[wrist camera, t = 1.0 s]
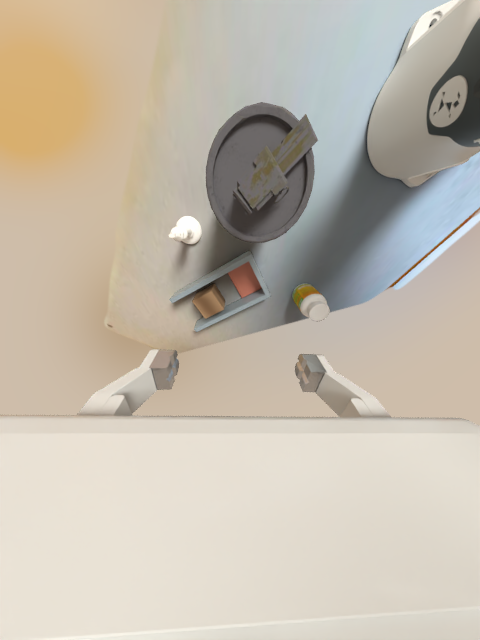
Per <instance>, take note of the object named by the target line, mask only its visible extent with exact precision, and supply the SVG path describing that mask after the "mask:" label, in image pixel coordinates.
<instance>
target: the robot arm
mask: <svg viewBox="0 0 480 640" xmlns="http://www.w3.org/2000/svg"><path fill="white" fill-rule="evenodd" d="M430 24H431V27H430V28H429V25H430ZM367 147H368V154H369V157H370V160H371V163H372V165H373V166H374V168H375V169H376V170H377V171H378V172H379V173H380V174H382V175H384V176H386V177H390V178H397V179H401V180H402V181H403V182H404V183H405V184H406V185H407V186H409V187H416V186H419V185H421V184H422V183H424V182H425V181H426V180H428V179H429V178H431V177H432V176H433V175H435V174H436V173H438V172H439V171H440V170H443V169H447V168H450V167H454V166H457V165H460V164H463V163H465V162H467V161H468V160H469V158H470V157H472V156H473V155H475V154H476V153H478V152H479V151H480V0H452V1H450V2H448V3H446V4H443V5H441V6H439V7H437V8H435V9H433V10H430V11H428V12H426V13H425V14H423V15H422V16H421V17H420V18H419V19H418V20H417V21H416V22H415V23H414V24H413V25H412V27H411V29H410V31H409V33H408V35H407V37H406V40H405V43H404V45H403V48H402V51H401V54H400V57H399V60H398V62H397V64H396V66H395V67H394V69H393V71H392V72H391V74H390V76H389V77H388V79H387V81H386V82H385V84H384V86H383V87H382V89H381V91H380V93H379V95H378V98H377V100H376V102H375V105H374V108H373V111H372V114H371V118H370V122H369V127H368V135H367ZM298 360H299V362H297V363H296V366H295V372H296V376H297V378H298V379H300V386H301V388H302V391H303V392H316V394H317V395H318V396H319V397H320V398H321V399H322V400H324V402H326V404H327V405H329V407H330V408H331V409H332V410H333V411H334V412H335V413H337V415H339V417H234V416H232V417H231V416H226V417H225V416H132V413H133V412H134V411H135V410H137V409H138V408H139V407H140V406H141V405H142V404H143V403H144V402H145V401H146V400H147V399H148V398H149V397H150V396H151V395H153V394H154V393H155V391H157V390H161V389H162V390H163V389H172V386H173V383H174V376H176V375H177V372H178V368H179V361H178V359H177V351H176V350H161V349H160V350H158V349H152V350H150V352H149V353H148V355H147V356H146V358H145V359H144V361H143V362H142V364H141V365H140V367H139V368H135V369H134V370H132V371H131V372H129V373H127V374H126V375H124V376H122V377H121V378H119V379H118V380H116V381H114V382H112V383H111V384H109V385H107V386H106V387H104V388H102V389H101V390H99V391H98V392H96V393H94V394H93V395H92V397H91V398H90V399H89V400H88V402H87V403H86V404H85V405H84V407H83V408H82V409H81V410H80V411H79V413H78V414H77V415H0V640H480V426H479V425H477V424H475V423H473V422H471V421H469V420H466V419H461V418H392V417H391V416H390V415H389V414H388V412H387V411H386V410H385V409H384V408H383V406H382V405H381V404H380V402H379V401H378V400H377V399H376V398H375V397H373V396H372V395H370V394H369V393H367V392H366V391H364V390H363V389H361V388H360V387H358V386H357V385H355V384H354V383H352V382H351V381H349V380H348V379H346V378H345V377H343V376H341V375H340V374H338V373H335V372H334V370H333V369H332V367H331V366H330V364H329V363H328V361H327V360H326V358H325V357H324V356H323V355H311V354H310V355H309V354H300V355H299V357H298Z"/></svg>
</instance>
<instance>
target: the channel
mask: <svg viewBox="0 0 480 640" xmlns="http://www.w3.org/2000/svg"><path fill="white" fill-rule="evenodd" d="M226 273H228V275H229V276H230V278H231V280H232V282H233V283H234V285H235V287H236V288H237V290H238V292H239V294H240V295H241V297H242V299H240V300H238V301H236V302H234V303H232V304H230V305H228V306H225V307H224V310H222V311H220V312H218V313H216V314H214V315H212V316H210V317H208V318H206V319H205V318H204V317H203V318H201V319H199V320H197V323H196V325H195V328H194V330H195V331H196V332H198V331H200V330H202V329H204V328H206V327H208V326H210V325H212V324H214V323H216V322H219V321H221V320H223V319H225V318H227V317H229V316H231V315H233V314H235V313H237V312H239V311H242V310H244V309H246V308H248V307H250V306H252V305H254V304H256V303H258V302H260V301H263V300H265V299H267V298H269V297H271V295H270V292H269V290H268V288H267V286H266V283H265V281H264V279H263V277H262V275H261V273H260V271H259V269H258V267H257V264H256V262H255V260H254V258H253V256H252V254H251V252H250V250H249V251H248V252H246V253H244V254H242V255H241V256H239V257H237V258H235V259H233V260H232V261H230V262H228V263H226V264H225V265H223V266H221V267H219V268H218V269H216V270H214V271H212V272H211V273H209V274H207V275H205V276H203V277H202V278H200V279H198V280H196V281H195V282H193V283H191V284H189V285H188V286H186V287H184V288H182V289H180V290H179V291H177V292H175V293H174V295H173V296H172V297H171V298H170V299H169V300H170V301H171V302H172V303H174V302H176V301H177V300H179V299H181V298H183V297H185V296H186V295H188V294H190V293H192V292H194V291H196V290H197V289H199V288H201V287H203V286H205V285H206V284H208V283H210V282H212V281H214V280H216V279H217V278H219V277H221V276H223V275H225V274H226ZM261 288H262V289H261ZM259 289H260V290H259ZM257 290H258V291H257ZM255 291H256V292H255ZM253 292H254V293H253ZM251 293H252V294H251ZM249 294H250V295H249ZM247 295H248V296H247ZM245 296H246V297H245ZM243 297H244V298H243Z"/></svg>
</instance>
